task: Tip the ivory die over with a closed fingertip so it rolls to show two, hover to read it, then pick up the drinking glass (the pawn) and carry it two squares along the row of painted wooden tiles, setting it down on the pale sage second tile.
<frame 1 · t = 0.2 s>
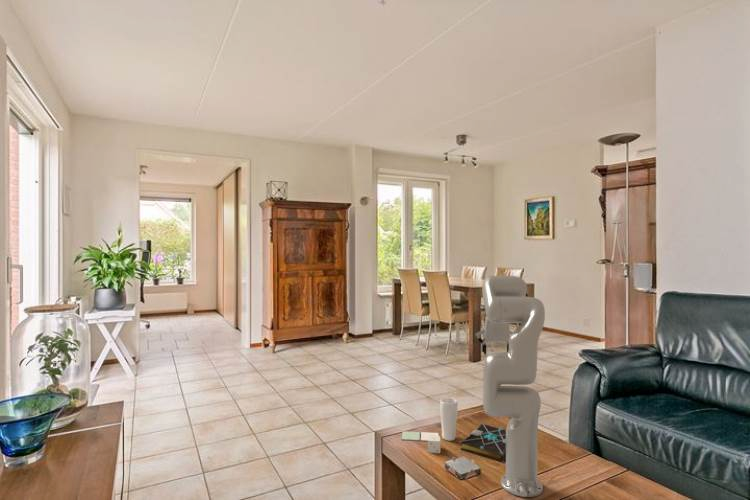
hand: (496, 354, 180), 31 cm above the table, fingers open, 9 cm apart
book: (491, 446, 165), on the table
die: (434, 450, 161), on the table
squares: (429, 437, 171), on the table
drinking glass: (448, 438, 170), on the table
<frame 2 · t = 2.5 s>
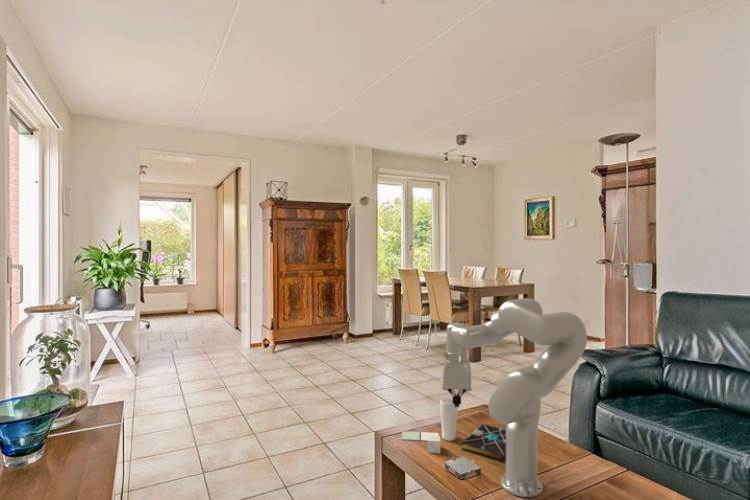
hand: (456, 405, 160), 17 cm above the table, fingers closed
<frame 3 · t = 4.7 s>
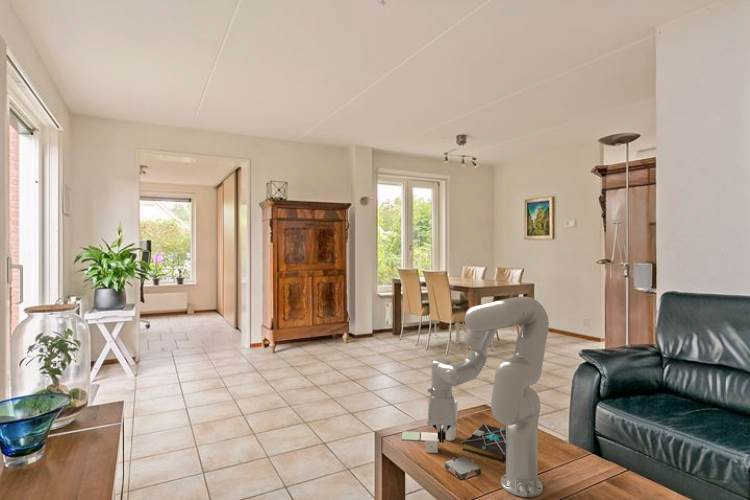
hand: (441, 441, 160), 3 cm above the table, fingers closed
die: (431, 449, 161), on the table, touching gripper
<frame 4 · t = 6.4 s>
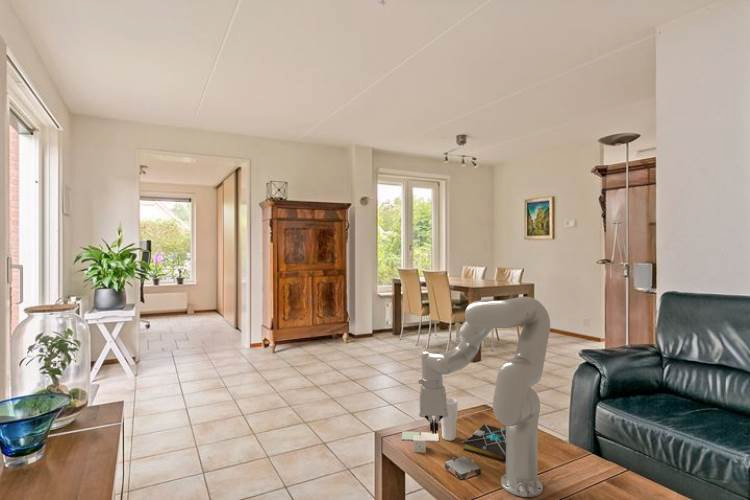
hand: (434, 432, 160), 7 cm above the table, fingers closed
die: (419, 449, 161), on the table
everything else where it was.
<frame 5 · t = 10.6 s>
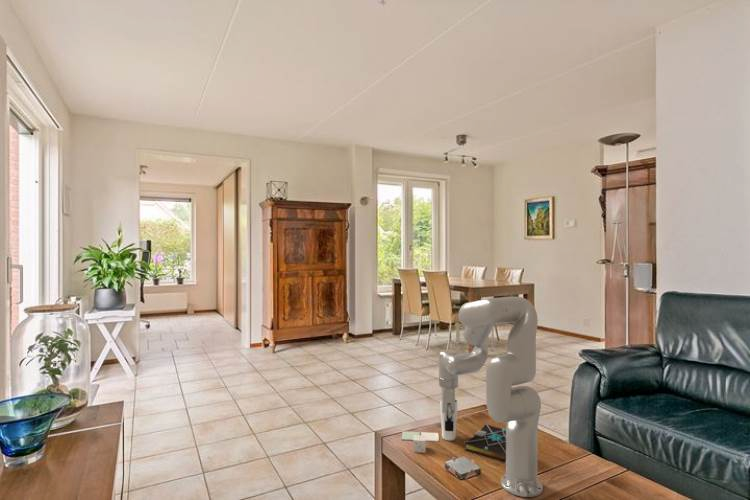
hand: (448, 426, 170), 5 cm above the table, fingers closed on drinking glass, 6 cm apart
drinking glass: (448, 438, 170), on the table, touching gripper
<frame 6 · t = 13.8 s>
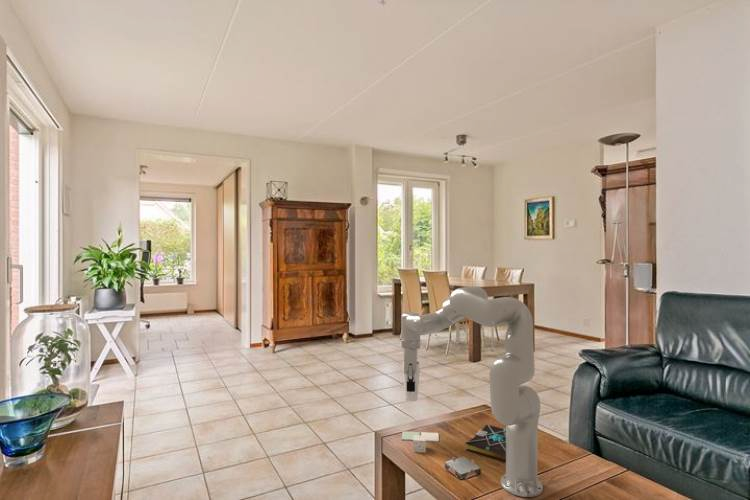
hand: (411, 388, 172), 20 cm above the table, fingers closed on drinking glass, 6 cm apart
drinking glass: (411, 400, 172), point 15 cm above the table, touching gripper
when the fingers open (6 cm above the table, at t = 17.1 s): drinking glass drops 1 cm, resting on squares.
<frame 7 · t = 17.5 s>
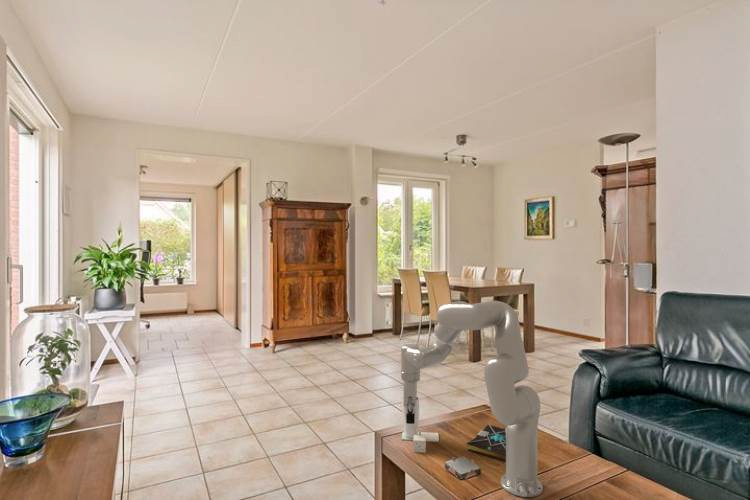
hand: (410, 418, 172), 7 cm above the table, fingers open, 9 cm apart
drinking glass: (411, 436, 172), resting on squares
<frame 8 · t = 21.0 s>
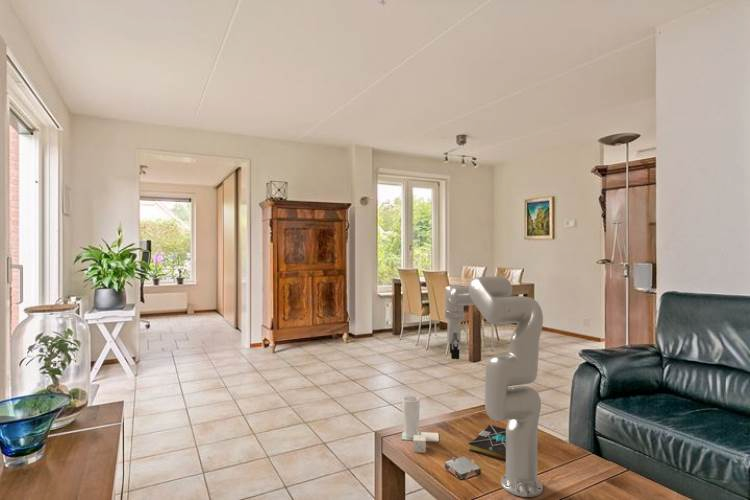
hand: (454, 355, 180), 30 cm above the table, fingers open, 9 cm apart
at the end: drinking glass inside the target area on the squares (0.3 cm from its centre), point 0.2 cm above the squares's base; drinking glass tilted 1°; die moved 5.4 cm from its start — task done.
